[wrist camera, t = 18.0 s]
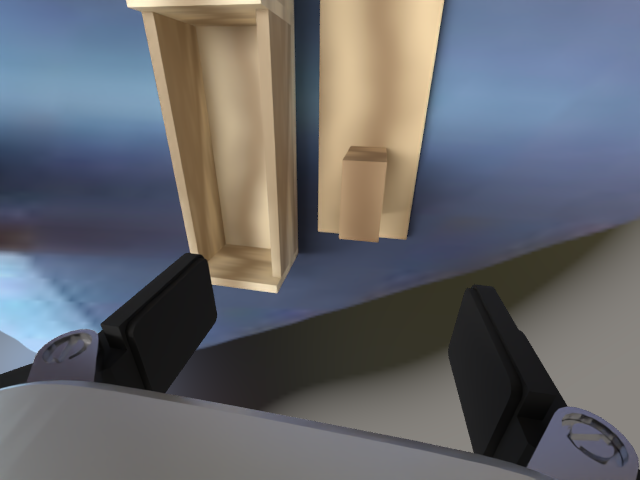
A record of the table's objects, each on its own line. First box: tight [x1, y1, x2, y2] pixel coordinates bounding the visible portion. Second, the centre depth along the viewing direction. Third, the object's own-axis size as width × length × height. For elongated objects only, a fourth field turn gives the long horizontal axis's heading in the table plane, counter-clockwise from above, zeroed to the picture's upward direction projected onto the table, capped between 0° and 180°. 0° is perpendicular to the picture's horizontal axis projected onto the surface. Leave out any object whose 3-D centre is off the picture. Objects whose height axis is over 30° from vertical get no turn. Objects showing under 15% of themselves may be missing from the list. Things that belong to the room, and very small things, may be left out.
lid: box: [318, 0, 444, 242], centre depth 23 cm, size 9×19×7 cm, turn 179°
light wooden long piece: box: [126, 0, 298, 293], centre depth 24 cm, size 9×27×7 cm, turn 179°
